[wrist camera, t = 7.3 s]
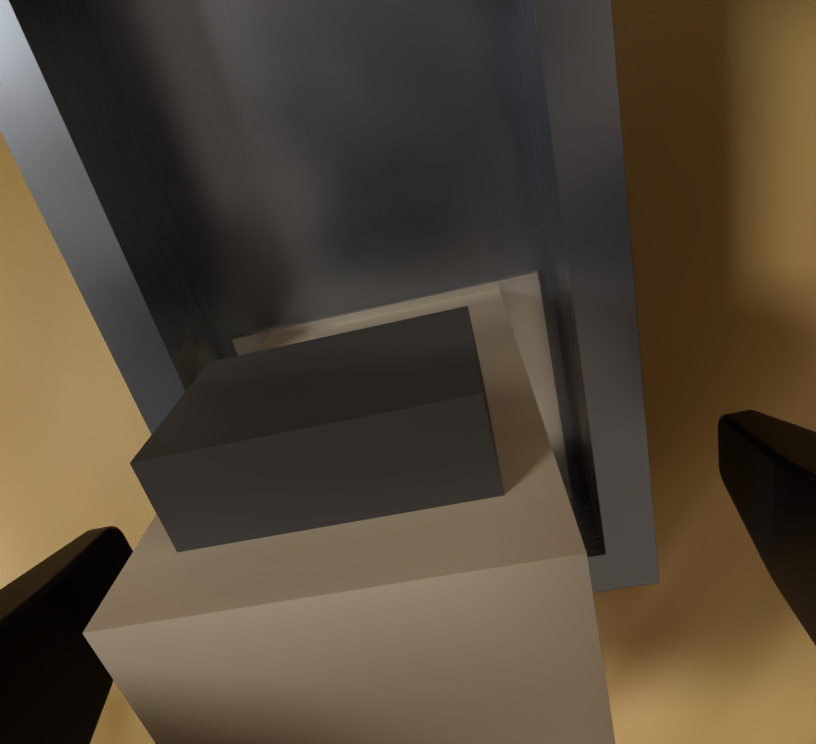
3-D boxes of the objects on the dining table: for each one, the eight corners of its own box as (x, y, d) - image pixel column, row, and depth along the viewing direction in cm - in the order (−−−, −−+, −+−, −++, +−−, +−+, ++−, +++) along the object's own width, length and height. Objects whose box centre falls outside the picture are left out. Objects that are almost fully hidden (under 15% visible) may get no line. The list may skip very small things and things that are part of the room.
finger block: (535, 486, 11) (632, 855, 6) (333, 521, 12) (253, 891, 6) (487, 227, 9) (569, 437, 4) (245, 284, 10) (19, 538, 4)
